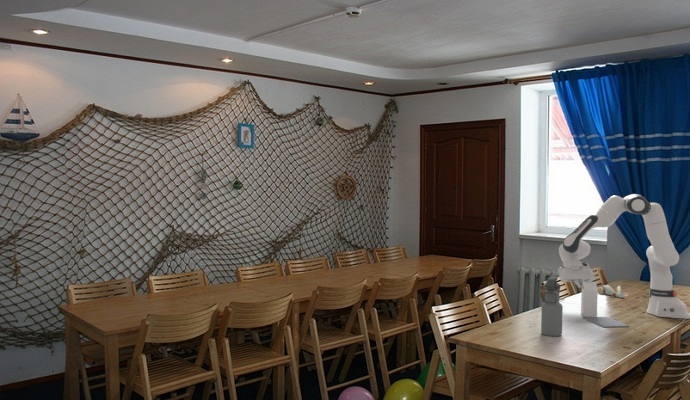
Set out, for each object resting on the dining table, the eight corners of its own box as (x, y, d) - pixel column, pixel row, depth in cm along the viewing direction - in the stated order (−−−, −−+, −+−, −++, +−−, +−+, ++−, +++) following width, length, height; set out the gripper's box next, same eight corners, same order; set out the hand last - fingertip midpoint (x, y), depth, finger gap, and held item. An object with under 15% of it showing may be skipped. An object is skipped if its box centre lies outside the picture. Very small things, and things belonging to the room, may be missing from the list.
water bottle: (559, 338, 289) (560, 280, 288) (538, 335, 294) (539, 278, 293) (563, 333, 298) (565, 277, 297) (543, 330, 303) (544, 275, 302)
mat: (583, 318, 330) (583, 317, 330) (606, 317, 332) (606, 316, 332) (603, 327, 310) (603, 326, 310) (628, 326, 312) (628, 325, 312)
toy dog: (622, 299, 384) (622, 285, 384) (593, 294, 398) (594, 281, 398) (630, 296, 393) (630, 283, 392) (602, 292, 406) (602, 279, 406)
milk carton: (596, 317, 333) (597, 283, 332) (583, 316, 334) (584, 282, 333) (594, 314, 340) (595, 281, 339) (581, 313, 341) (581, 280, 340)
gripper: (558, 264, 350) (566, 284, 340) (591, 264, 353) (600, 283, 343) (554, 270, 354) (562, 290, 345) (586, 270, 357) (595, 289, 348)
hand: (581, 286), depth 344 cm, fingers closed
